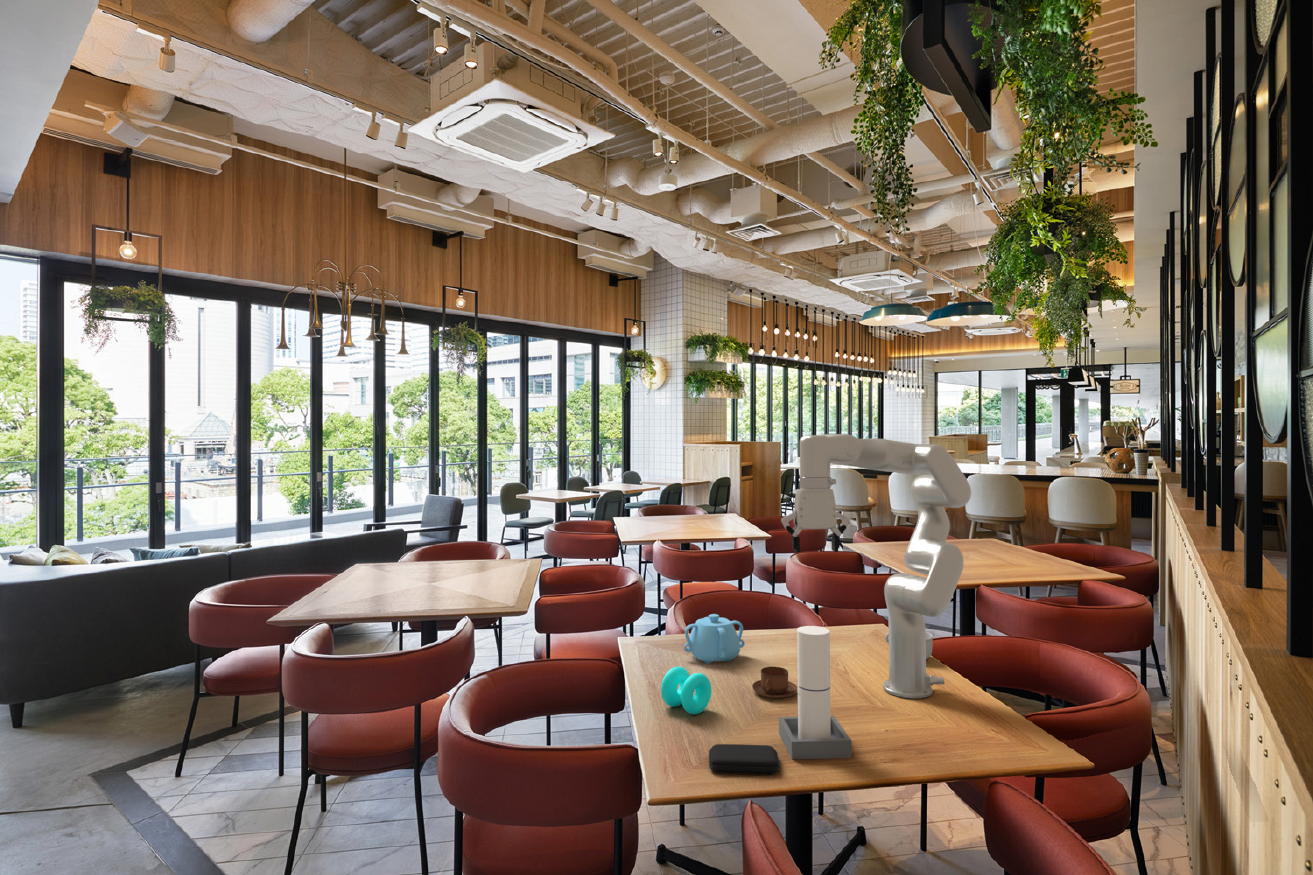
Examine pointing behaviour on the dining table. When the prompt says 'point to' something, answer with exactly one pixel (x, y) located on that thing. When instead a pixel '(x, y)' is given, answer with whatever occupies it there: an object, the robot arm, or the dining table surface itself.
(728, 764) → the carrying case or bag
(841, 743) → the holder tray
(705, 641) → the decorative pot
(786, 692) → the cup and saucer
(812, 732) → the cylindrical container
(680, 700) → the turquoise double ring spool
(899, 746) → the dining table surface
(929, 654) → the teacup
